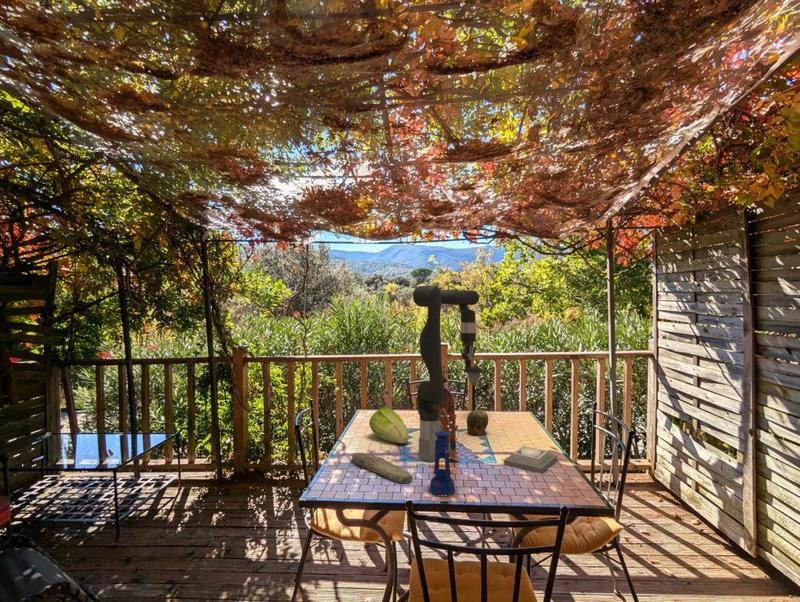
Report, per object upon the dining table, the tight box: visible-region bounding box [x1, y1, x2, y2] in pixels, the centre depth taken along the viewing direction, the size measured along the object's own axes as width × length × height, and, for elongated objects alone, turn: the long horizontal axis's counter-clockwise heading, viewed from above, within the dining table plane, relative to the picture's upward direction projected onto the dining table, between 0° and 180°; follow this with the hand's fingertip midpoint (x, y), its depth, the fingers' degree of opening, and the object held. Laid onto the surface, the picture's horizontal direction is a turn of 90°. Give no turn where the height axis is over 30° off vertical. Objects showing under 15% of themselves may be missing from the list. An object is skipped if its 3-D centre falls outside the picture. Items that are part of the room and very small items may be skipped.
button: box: [521, 446, 541, 458], centre depth 193 cm, size 8×8×3 cm
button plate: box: [503, 445, 558, 474], centre depth 193 cm, size 18×16×4 cm
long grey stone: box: [351, 451, 413, 484], centre depth 186 cm, size 35×5×10 cm
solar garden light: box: [462, 366, 485, 411], centre depth 256 cm, size 12×12×30 cm
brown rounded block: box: [466, 409, 489, 437], centre depth 233 cm, size 11×11×12 cm
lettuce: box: [368, 406, 409, 444], centre depth 224 cm, size 15×24×16 cm
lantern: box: [428, 408, 456, 497], centre depth 165 cm, size 11×9×30 cm
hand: (468, 367), depth 220 cm, fingers closed
